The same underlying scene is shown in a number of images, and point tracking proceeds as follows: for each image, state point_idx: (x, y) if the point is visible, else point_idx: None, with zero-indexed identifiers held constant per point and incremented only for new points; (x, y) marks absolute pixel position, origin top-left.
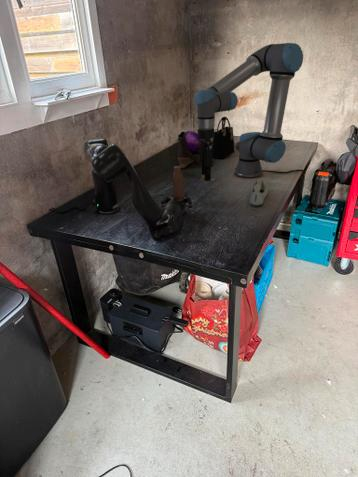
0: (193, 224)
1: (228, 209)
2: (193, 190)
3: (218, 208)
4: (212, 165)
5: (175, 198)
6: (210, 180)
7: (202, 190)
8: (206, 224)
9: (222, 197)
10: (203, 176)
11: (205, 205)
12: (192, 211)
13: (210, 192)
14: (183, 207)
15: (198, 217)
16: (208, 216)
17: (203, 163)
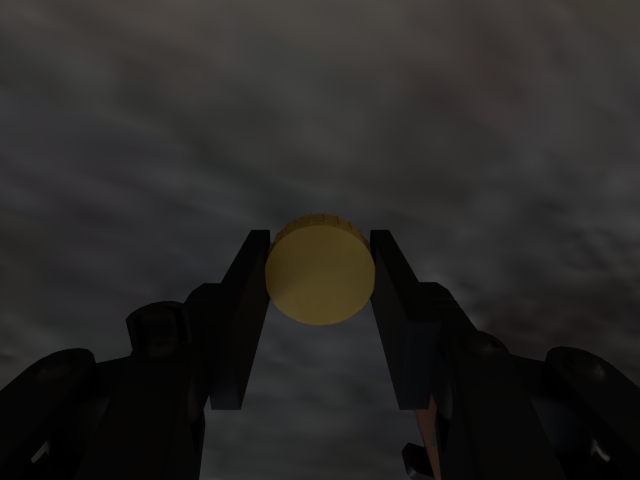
0: (594, 348)
1: (545, 109)
2: (139, 235)
3: (494, 170)
4: (627, 379)
5: None
6: (387, 232)
7: (151, 176)
8: (636, 296)
9: (330, 71)
10: (336, 311)
11: (412, 232)
12: None
13: (205, 130)
14: None
15: (539, 310)
16: (560, 260)
17: (204, 389)
